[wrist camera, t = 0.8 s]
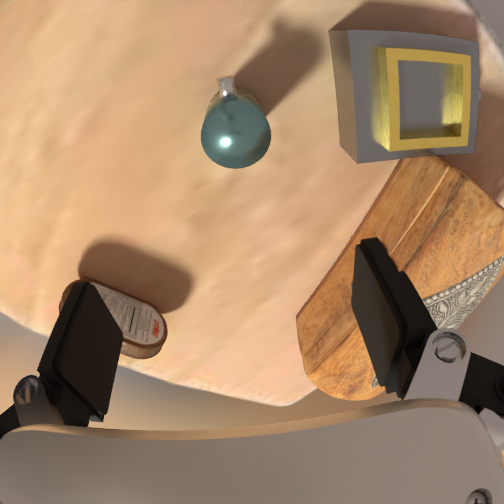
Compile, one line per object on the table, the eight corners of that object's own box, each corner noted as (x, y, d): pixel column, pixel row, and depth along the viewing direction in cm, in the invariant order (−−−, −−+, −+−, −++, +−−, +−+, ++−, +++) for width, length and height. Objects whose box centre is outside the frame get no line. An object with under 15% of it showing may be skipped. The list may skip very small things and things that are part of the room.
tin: (70, 281, 39) (49, 327, 33) (74, 266, 38) (52, 312, 31) (164, 321, 45) (158, 369, 38) (173, 308, 43) (167, 358, 37)
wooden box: (406, 129, 30) (486, 188, 19) (483, 190, 35) (545, 251, 24) (282, 315, 46) (297, 400, 35) (367, 333, 51) (392, 404, 40)
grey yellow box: (328, 30, 23) (354, 29, 18) (459, 38, 23) (498, 46, 18) (340, 145, 31) (363, 170, 26) (459, 136, 30) (492, 158, 25)
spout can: (198, 76, 26) (187, 87, 19) (252, 65, 25) (261, 73, 19) (213, 142, 30) (209, 174, 23) (264, 132, 30) (275, 162, 23)
